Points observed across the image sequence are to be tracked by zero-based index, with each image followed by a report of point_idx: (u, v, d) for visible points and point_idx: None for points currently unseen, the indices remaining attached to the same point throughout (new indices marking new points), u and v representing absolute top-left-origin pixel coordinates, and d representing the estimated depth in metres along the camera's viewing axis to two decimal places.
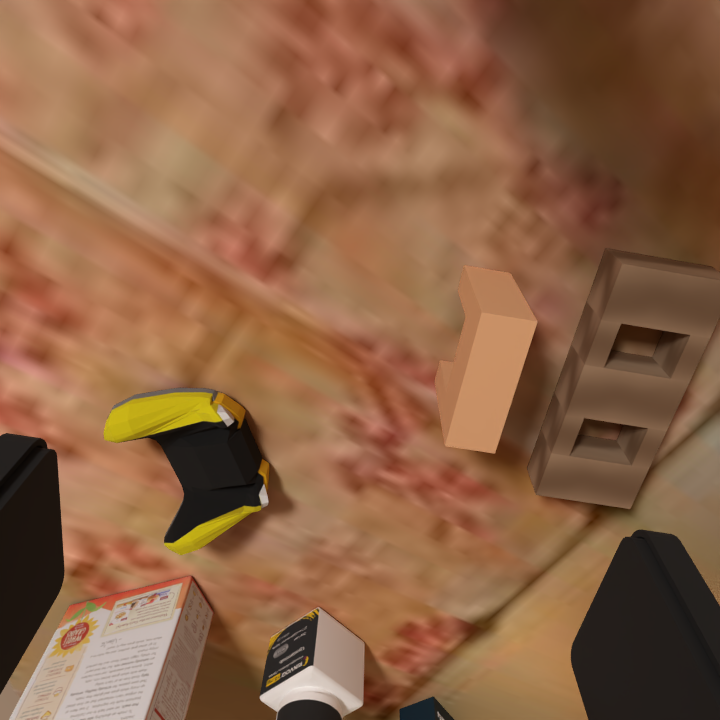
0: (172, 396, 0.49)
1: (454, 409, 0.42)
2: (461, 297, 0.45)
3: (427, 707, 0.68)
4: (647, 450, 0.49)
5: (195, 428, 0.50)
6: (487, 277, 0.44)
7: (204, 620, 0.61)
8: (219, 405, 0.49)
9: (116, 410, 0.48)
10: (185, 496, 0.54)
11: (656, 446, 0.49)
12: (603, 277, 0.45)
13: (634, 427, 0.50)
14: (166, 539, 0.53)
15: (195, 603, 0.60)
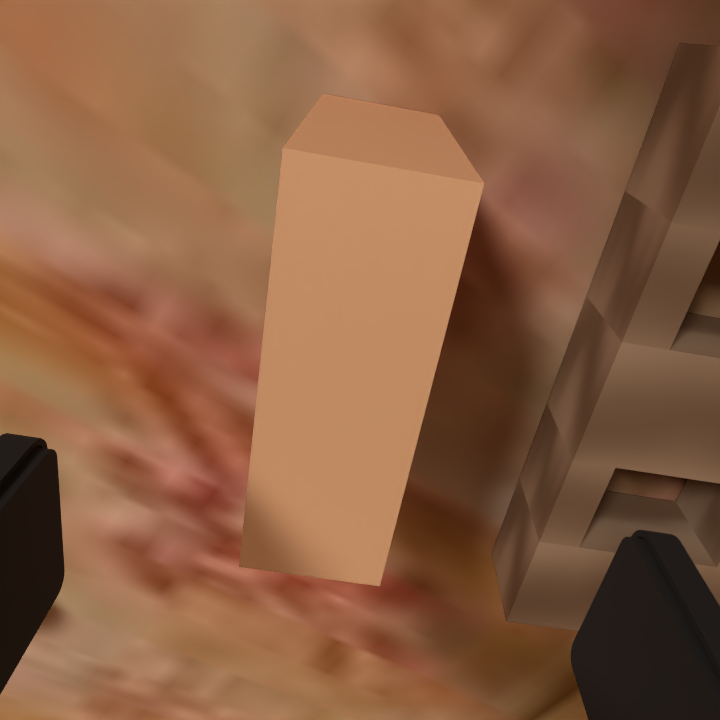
0: None
1: None
2: None
3: None
4: None
5: None
6: (372, 111, 0.17)
7: None
8: None
9: None
10: None
11: None
12: (675, 114, 0.17)
13: None
14: None
15: None
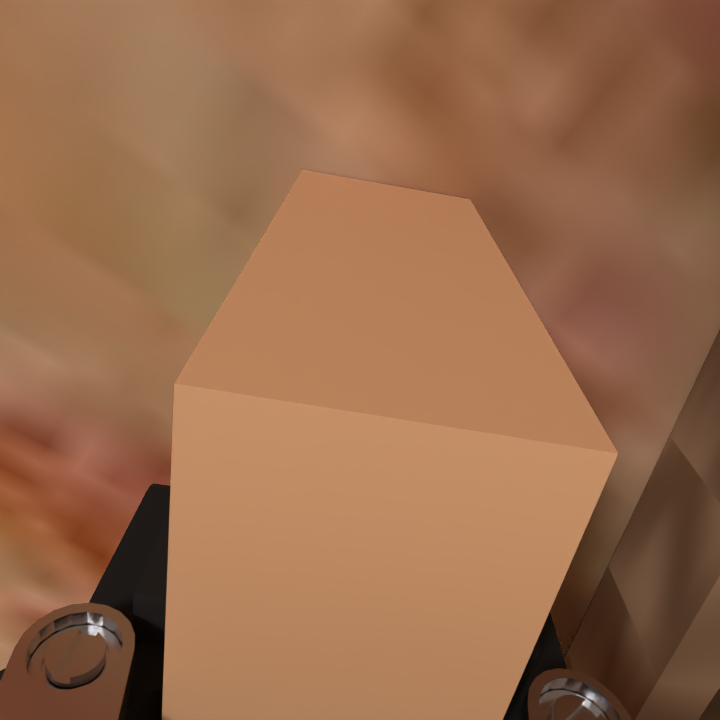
0: None
1: None
2: None
3: None
4: None
5: None
6: (374, 204, 0.11)
7: None
8: None
9: None
10: None
11: None
12: None
13: None
14: None
15: None
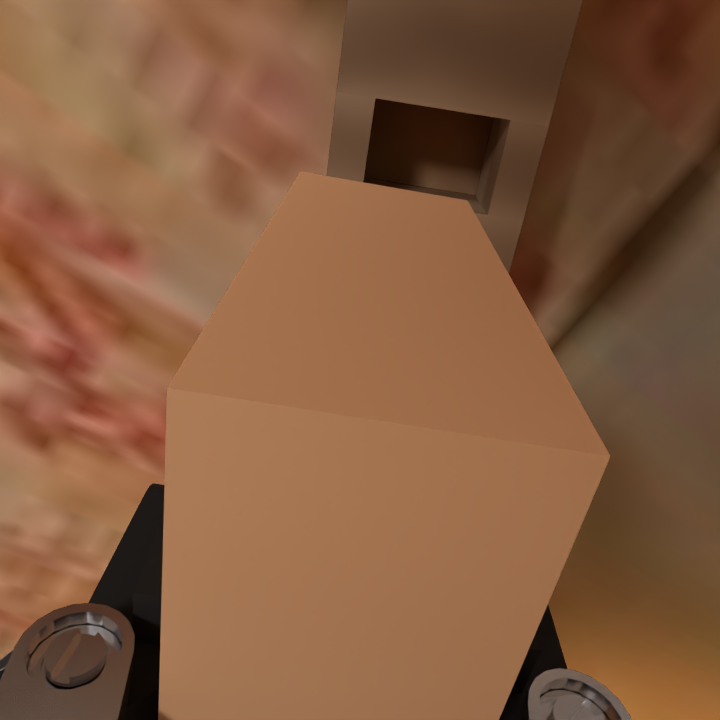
0: None
1: None
2: None
3: None
4: None
5: None
6: (371, 206, 0.11)
7: None
8: None
9: None
10: None
11: None
12: None
13: None
14: None
15: None
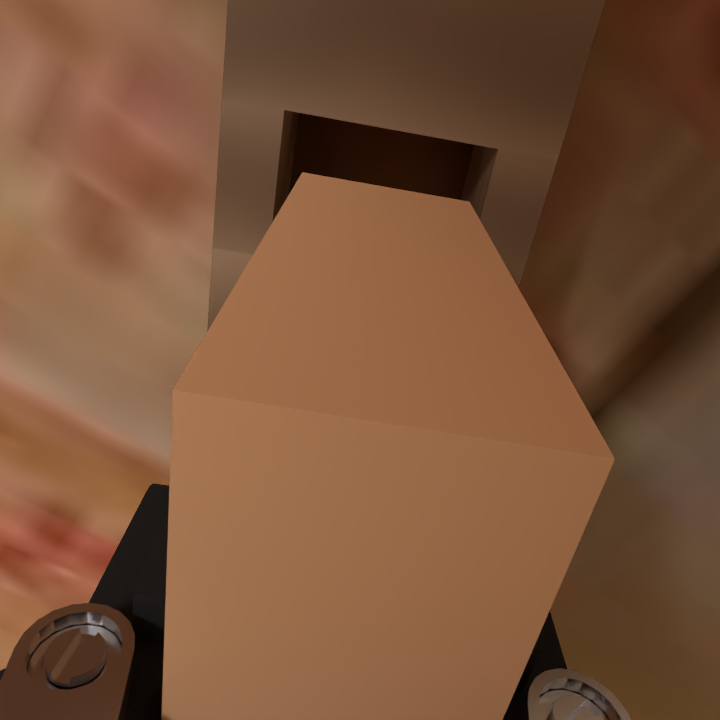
0: None
1: None
2: None
3: None
4: None
5: None
6: (373, 207, 0.11)
7: None
8: None
9: None
10: None
11: None
12: None
13: None
14: None
15: None
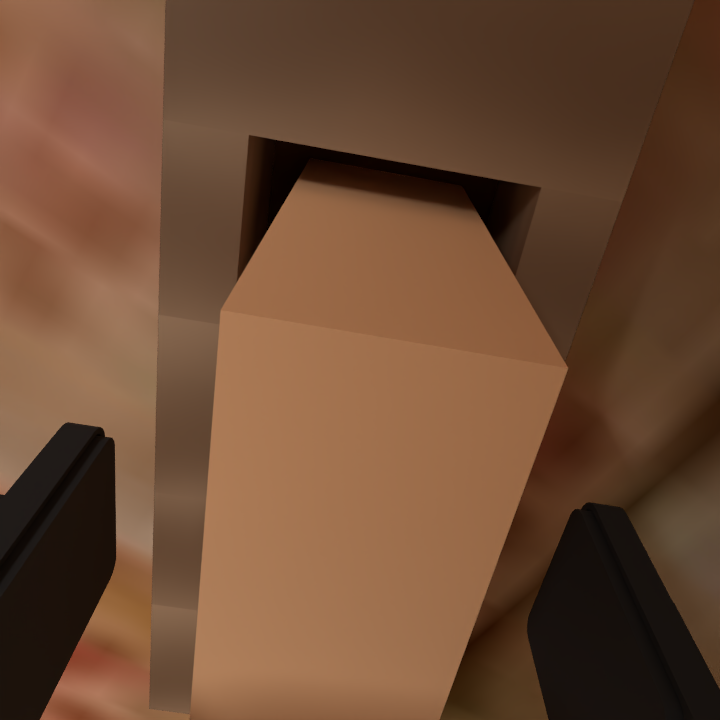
0: None
1: None
2: None
3: None
4: None
5: None
6: (375, 187, 0.12)
7: None
8: None
9: None
10: None
11: None
12: None
13: None
14: None
15: None
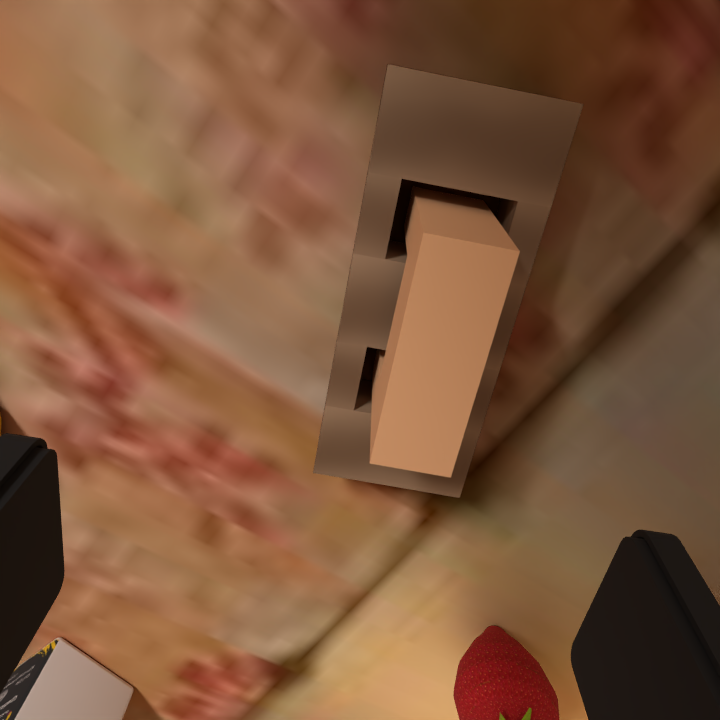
0: None
1: (383, 403, 0.25)
2: (406, 232, 0.29)
3: None
4: None
5: None
6: (446, 200, 0.28)
7: None
8: None
9: None
10: None
11: (487, 396, 0.31)
12: None
13: None
14: None
15: None
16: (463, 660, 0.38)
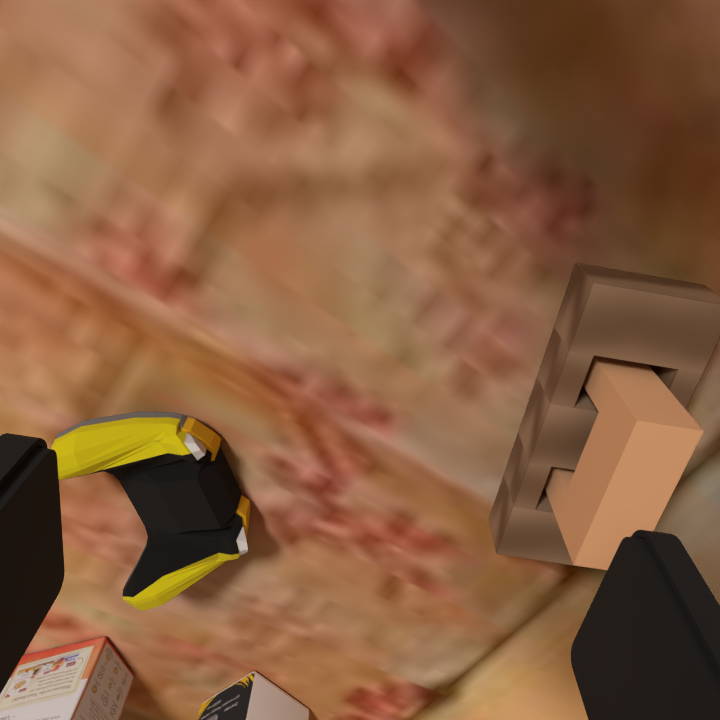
0: (130, 422, 0.40)
1: (589, 525, 0.35)
2: (584, 383, 0.39)
3: None
4: None
5: (159, 461, 0.41)
6: (617, 361, 0.38)
7: (120, 688, 0.53)
8: (188, 434, 0.40)
9: (60, 440, 0.39)
10: (149, 539, 0.45)
11: None
12: (572, 298, 0.37)
13: None
14: (125, 592, 0.44)
15: (109, 669, 0.52)
16: None
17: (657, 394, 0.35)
